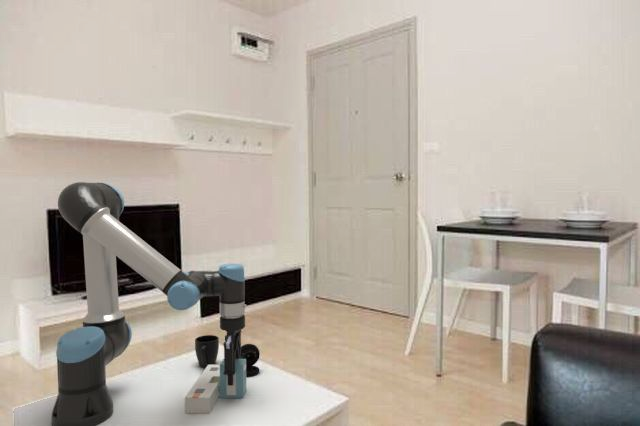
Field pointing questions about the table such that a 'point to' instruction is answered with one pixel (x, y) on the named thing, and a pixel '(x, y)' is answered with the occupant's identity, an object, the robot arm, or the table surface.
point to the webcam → (250, 358)
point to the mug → (206, 350)
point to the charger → (240, 379)
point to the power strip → (204, 391)
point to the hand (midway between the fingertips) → (233, 390)
